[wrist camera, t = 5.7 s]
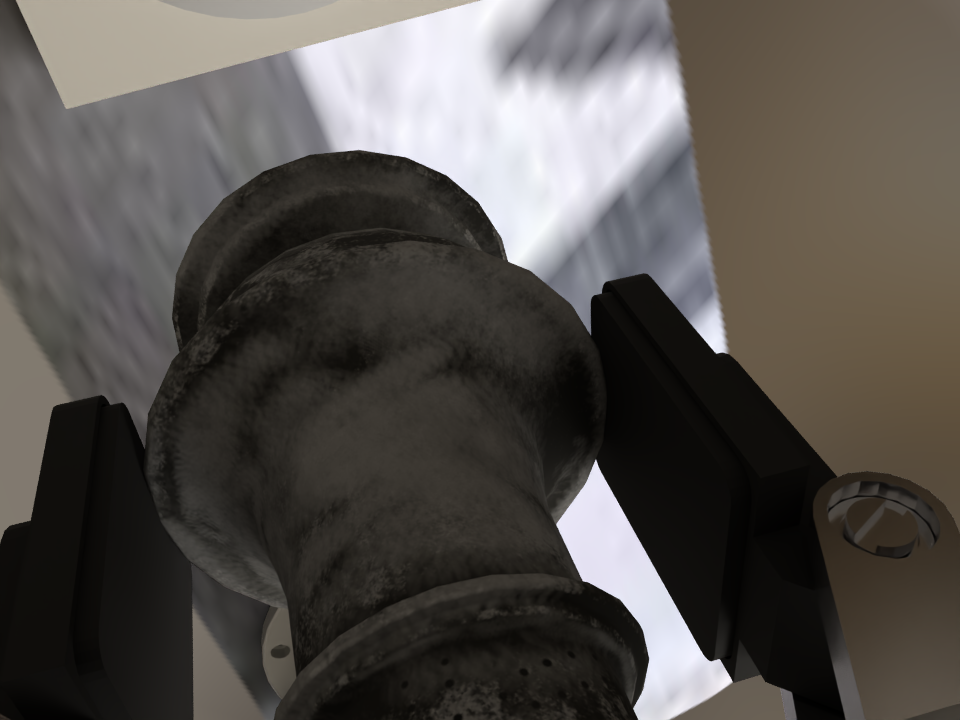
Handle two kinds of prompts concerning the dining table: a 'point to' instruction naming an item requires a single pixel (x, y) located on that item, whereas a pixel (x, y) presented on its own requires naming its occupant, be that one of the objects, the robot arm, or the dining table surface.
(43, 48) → the scale
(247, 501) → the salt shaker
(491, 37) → the dining table surface
